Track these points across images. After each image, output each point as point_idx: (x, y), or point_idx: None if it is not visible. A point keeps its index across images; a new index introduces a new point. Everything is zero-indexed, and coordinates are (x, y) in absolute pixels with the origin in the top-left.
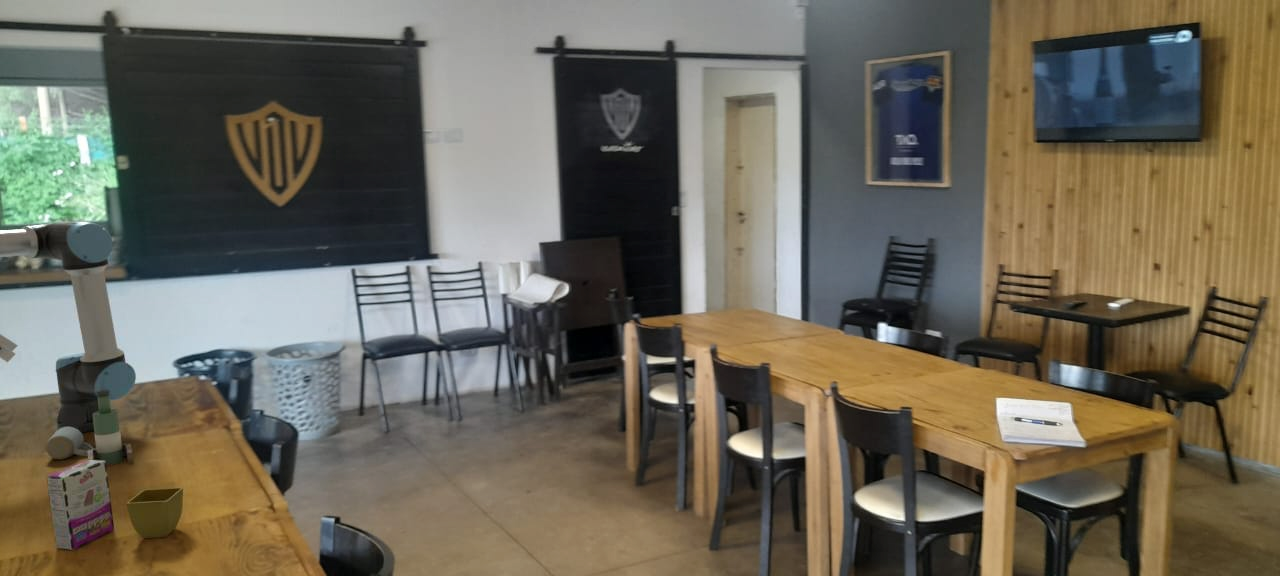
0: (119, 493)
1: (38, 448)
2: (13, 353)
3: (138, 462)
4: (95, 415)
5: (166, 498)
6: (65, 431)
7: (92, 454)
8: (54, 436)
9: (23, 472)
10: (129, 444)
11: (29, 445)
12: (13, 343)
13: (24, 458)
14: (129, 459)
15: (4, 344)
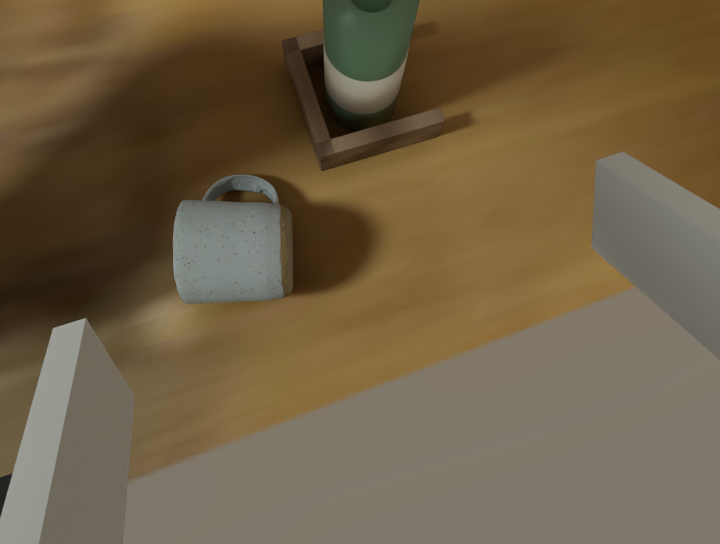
0: (670, 2)
1: None
2: (636, 162)
3: None
4: (411, 17)
5: None
6: (233, 229)
7: (386, 124)
8: (274, 257)
9: (394, 339)
10: (300, 38)
11: None
12: (81, 354)
13: (220, 400)
14: None
15: (107, 446)
